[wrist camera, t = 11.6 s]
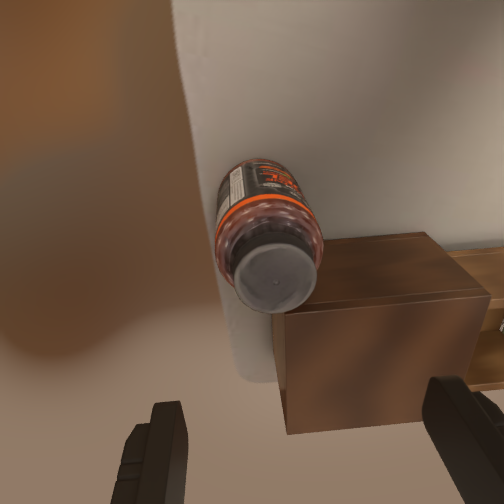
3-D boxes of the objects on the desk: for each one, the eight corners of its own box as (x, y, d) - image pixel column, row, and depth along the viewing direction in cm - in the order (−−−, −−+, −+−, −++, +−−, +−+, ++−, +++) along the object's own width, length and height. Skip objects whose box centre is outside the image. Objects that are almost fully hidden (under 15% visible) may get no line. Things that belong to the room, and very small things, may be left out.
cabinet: (424, 231, 29) (493, 295, 22) (403, 339, 35) (451, 418, 28) (268, 244, 29) (284, 314, 22) (273, 351, 35) (286, 435, 27)
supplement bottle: (313, 180, 27) (366, 259, 17) (271, 244, 29) (296, 346, 19) (241, 140, 25) (253, 202, 15) (203, 211, 27) (192, 306, 17)
